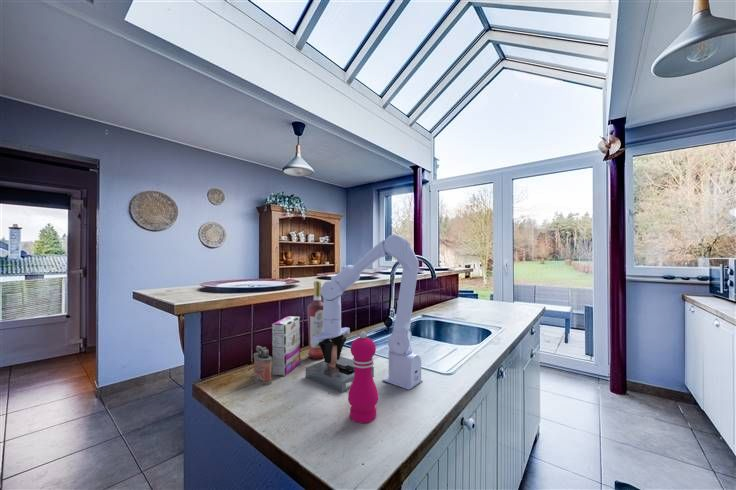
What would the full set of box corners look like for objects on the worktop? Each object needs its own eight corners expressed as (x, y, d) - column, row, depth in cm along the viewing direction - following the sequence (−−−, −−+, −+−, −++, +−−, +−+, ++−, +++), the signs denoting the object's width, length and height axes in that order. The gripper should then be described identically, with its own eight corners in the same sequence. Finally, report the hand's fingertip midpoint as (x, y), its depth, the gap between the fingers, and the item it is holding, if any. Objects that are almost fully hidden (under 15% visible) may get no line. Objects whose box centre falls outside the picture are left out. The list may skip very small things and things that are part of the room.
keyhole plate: (373, 376, 93) (373, 366, 93) (342, 392, 82) (342, 381, 82) (337, 364, 103) (337, 355, 103) (305, 377, 92) (305, 367, 93)
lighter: (274, 383, 88) (274, 349, 89) (263, 386, 86) (263, 351, 86) (261, 375, 94) (261, 343, 94) (250, 378, 91) (251, 345, 92)
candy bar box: (287, 362, 105) (287, 315, 105) (300, 363, 104) (300, 316, 104) (270, 375, 94) (271, 323, 94) (285, 376, 93) (285, 323, 93)
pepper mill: (368, 428, 66) (368, 337, 66) (341, 418, 70) (342, 332, 70) (383, 413, 72) (383, 330, 72) (359, 405, 76) (359, 326, 76)
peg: (341, 372, 95) (341, 345, 95) (331, 377, 92) (331, 349, 92) (332, 369, 98) (332, 343, 98) (322, 373, 95) (322, 346, 95)
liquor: (310, 361, 105) (310, 282, 106) (304, 355, 112) (304, 281, 112) (329, 358, 109) (330, 281, 109) (322, 352, 115) (323, 280, 116)
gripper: (339, 313, 103) (339, 352, 103) (306, 320, 92) (306, 364, 92) (354, 315, 99) (354, 356, 99) (321, 323, 88) (321, 370, 88)
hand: (332, 360), depth 95 cm, fingers closed on peg, 3 cm apart
